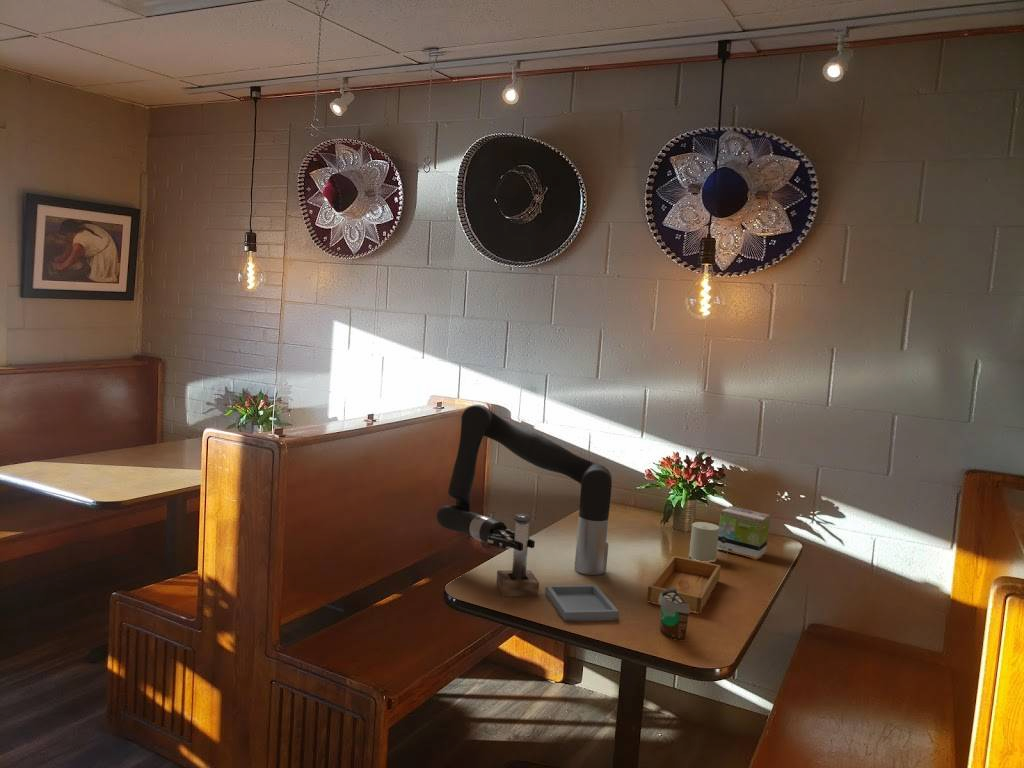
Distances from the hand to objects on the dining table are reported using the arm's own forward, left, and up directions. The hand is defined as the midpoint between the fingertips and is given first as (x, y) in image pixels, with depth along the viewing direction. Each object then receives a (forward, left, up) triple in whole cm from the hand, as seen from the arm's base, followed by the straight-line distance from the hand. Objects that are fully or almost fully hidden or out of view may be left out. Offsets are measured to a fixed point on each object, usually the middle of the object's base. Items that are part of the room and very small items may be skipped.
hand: (527, 545), depth 224 cm
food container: (-32, +29, -14) cm, 45 cm away
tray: (-49, +1, -15) cm, 52 cm away
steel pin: (+1, -2, -10) cm, 10 cm away
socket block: (+2, -2, -14) cm, 14 cm away
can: (-69, -27, -14) cm, 76 cm away
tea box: (-87, -33, -14) cm, 95 cm away
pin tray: (-13, +11, -14) cm, 22 cm away
